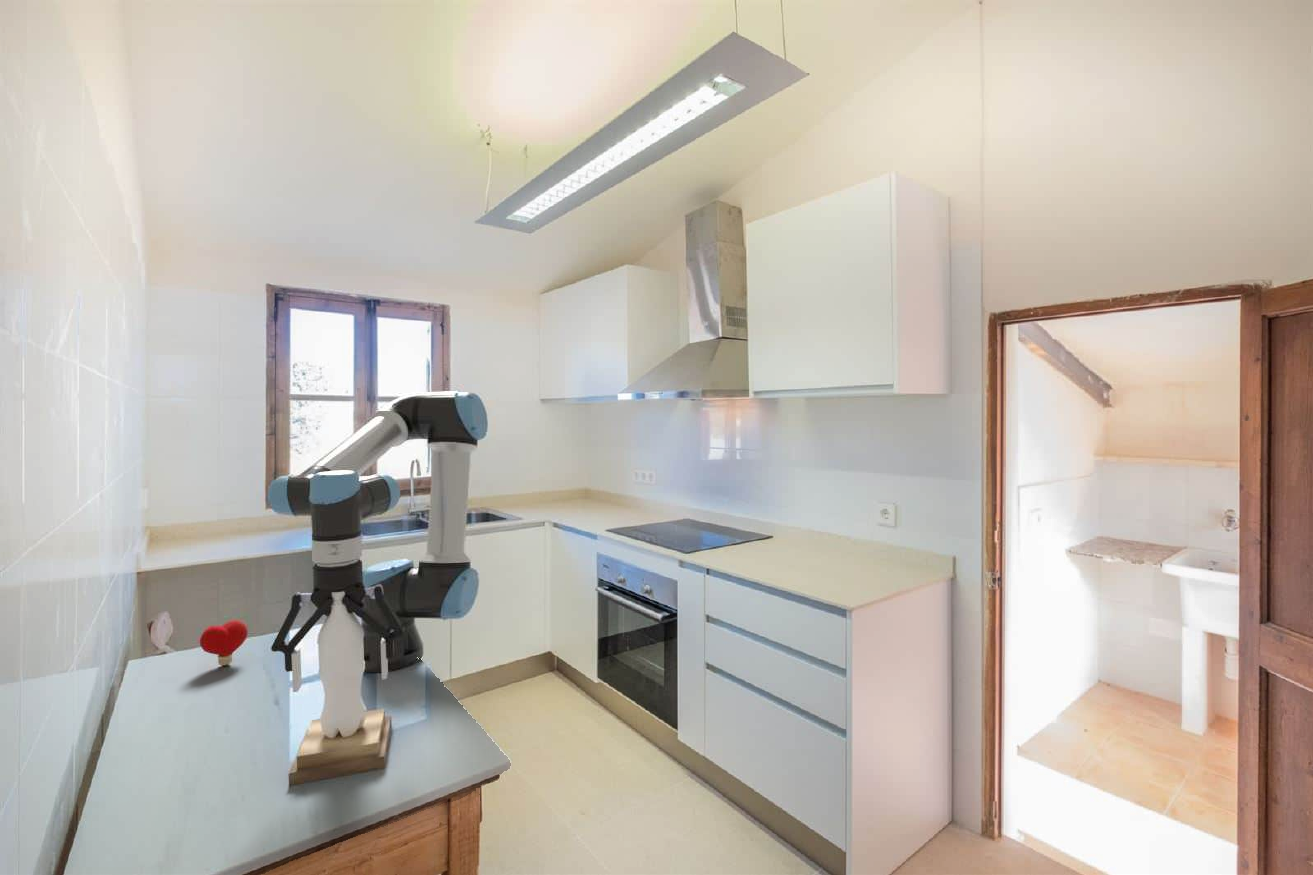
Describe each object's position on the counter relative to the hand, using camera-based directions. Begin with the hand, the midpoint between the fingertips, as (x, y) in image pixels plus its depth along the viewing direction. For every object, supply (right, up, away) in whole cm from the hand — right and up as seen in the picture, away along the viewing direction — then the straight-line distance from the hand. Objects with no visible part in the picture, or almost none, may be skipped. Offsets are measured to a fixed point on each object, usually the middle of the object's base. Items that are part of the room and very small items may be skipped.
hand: (342, 682), depth 105 cm
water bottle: (0, -9, +1) cm, 9 cm away
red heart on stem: (-46, -11, +36) cm, 60 cm away
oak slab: (0, -11, +1) cm, 11 cm away
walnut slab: (0, -13, +1) cm, 13 cm away
